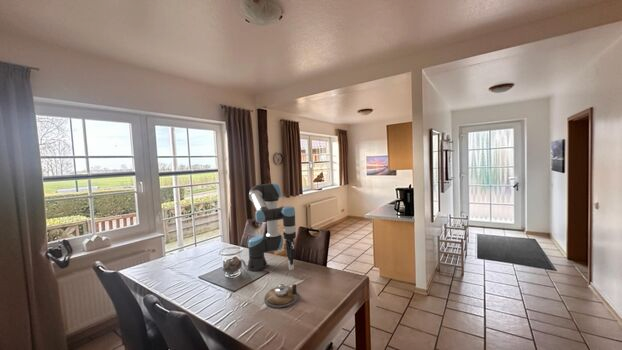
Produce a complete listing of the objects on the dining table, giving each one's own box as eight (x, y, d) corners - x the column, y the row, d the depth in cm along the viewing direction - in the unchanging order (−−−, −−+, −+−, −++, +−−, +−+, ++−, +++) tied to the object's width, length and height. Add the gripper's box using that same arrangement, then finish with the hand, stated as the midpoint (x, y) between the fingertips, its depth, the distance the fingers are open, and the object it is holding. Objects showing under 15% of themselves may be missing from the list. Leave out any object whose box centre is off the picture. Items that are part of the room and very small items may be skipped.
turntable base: (261, 294, 153) (261, 292, 153) (292, 286, 161) (291, 285, 161) (268, 312, 135) (268, 309, 134) (303, 302, 142) (303, 300, 142)
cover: (280, 288, 153) (280, 281, 153) (291, 292, 149) (290, 283, 149) (272, 295, 146) (271, 286, 146) (282, 298, 142) (282, 290, 142)
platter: (279, 286, 160) (279, 276, 160) (302, 292, 150) (301, 282, 150) (259, 299, 145) (258, 288, 145) (283, 308, 135) (282, 296, 135)
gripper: (280, 230, 157) (282, 265, 159) (286, 235, 145) (288, 274, 147) (292, 228, 160) (293, 263, 162) (299, 233, 148) (300, 271, 150)
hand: (291, 268), depth 155 cm, fingers closed
